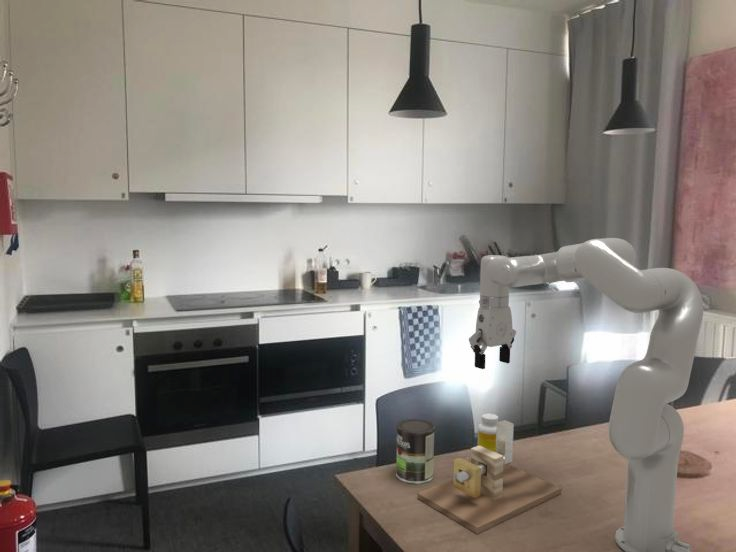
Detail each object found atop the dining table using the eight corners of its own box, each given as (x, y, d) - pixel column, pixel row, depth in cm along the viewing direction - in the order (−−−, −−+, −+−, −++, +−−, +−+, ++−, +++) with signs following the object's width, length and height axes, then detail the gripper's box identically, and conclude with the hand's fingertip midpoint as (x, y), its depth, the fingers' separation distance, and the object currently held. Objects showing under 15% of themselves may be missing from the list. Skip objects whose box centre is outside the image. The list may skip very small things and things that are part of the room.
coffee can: (408, 487, 153) (409, 435, 151) (389, 471, 162) (389, 422, 160) (441, 479, 158) (442, 428, 156) (420, 464, 167) (421, 416, 165)
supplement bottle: (500, 465, 166) (502, 421, 165) (476, 463, 168) (478, 419, 166) (500, 455, 173) (501, 413, 171) (477, 453, 174) (478, 411, 173)
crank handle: (503, 461, 153) (504, 420, 151) (512, 465, 150) (513, 423, 149) (453, 480, 142) (454, 436, 141) (462, 485, 140) (463, 440, 138)
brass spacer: (480, 495, 141) (481, 467, 140) (474, 498, 140) (475, 469, 139) (459, 484, 146) (459, 457, 146) (453, 486, 145) (453, 459, 144)
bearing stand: (561, 493, 150) (563, 448, 148) (477, 534, 131) (478, 482, 130) (499, 466, 166) (501, 425, 164) (417, 498, 147) (418, 452, 146)
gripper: (482, 307, 148) (480, 373, 150) (526, 300, 158) (524, 363, 160) (460, 303, 154) (459, 367, 156) (504, 297, 164) (503, 357, 166)
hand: (492, 365), depth 158 cm, fingers open, 9 cm apart
